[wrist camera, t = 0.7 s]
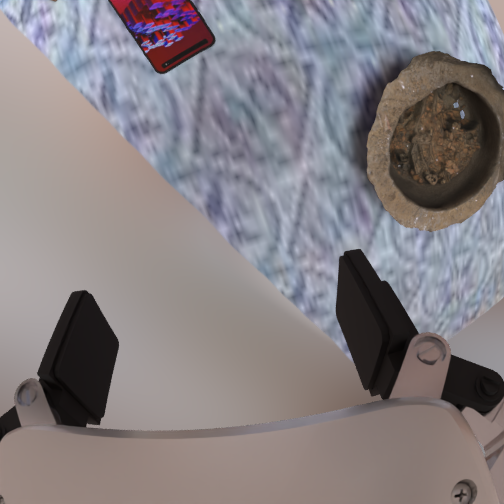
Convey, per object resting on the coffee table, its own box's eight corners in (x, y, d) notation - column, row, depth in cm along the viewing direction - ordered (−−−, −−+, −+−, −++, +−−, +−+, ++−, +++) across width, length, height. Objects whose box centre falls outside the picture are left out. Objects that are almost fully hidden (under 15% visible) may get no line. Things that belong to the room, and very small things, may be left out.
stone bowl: (480, 57, 28) (524, 70, 21) (467, 196, 44) (499, 225, 36) (337, 43, 28) (375, 46, 21) (346, 219, 44) (372, 258, 36)
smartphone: (156, -47, 20) (218, 41, 27) (158, -45, 20) (218, 42, 28) (99, -11, 21) (158, 77, 29) (102, -10, 22) (160, 77, 30)
